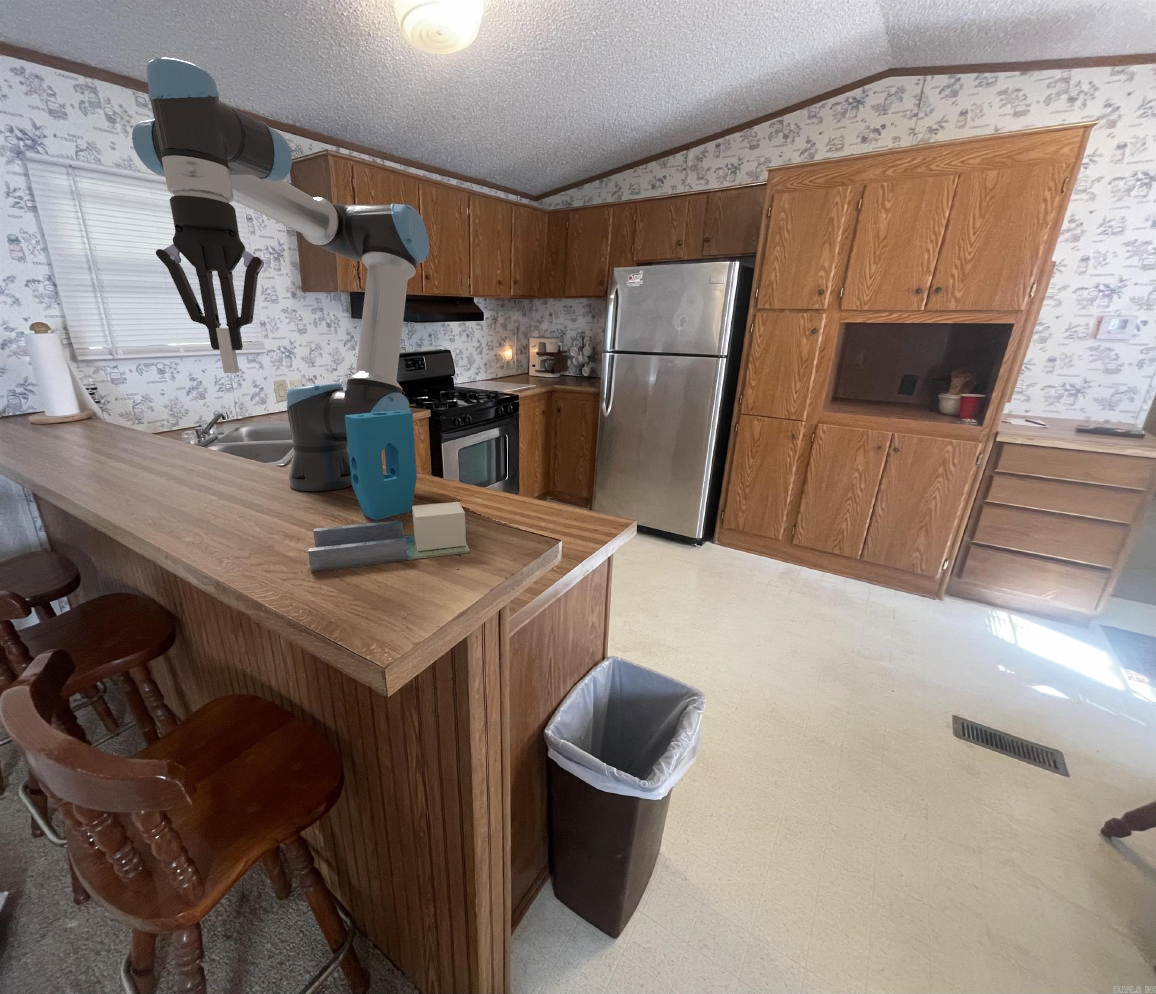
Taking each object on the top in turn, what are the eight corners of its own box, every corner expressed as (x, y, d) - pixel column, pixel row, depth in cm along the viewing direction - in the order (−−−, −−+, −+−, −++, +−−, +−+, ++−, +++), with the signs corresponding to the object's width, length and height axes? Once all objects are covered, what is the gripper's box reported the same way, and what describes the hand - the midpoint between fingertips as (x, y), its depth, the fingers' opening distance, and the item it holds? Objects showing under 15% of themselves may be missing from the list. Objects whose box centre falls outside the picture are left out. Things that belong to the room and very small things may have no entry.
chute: (316, 547, 86) (313, 528, 85) (460, 532, 94) (459, 514, 93) (311, 571, 77) (308, 551, 76) (469, 552, 86) (469, 533, 85)
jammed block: (414, 538, 89) (412, 505, 88) (460, 533, 92) (458, 501, 91) (417, 551, 84) (415, 517, 82) (466, 545, 87) (464, 512, 85)
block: (366, 522, 97) (356, 418, 91) (353, 516, 100) (342, 415, 94) (420, 508, 106) (414, 412, 100) (407, 503, 109) (400, 409, 103)
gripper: (133, 186, 65) (172, 374, 73) (251, 200, 70) (276, 374, 77) (154, 199, 72) (188, 370, 79) (260, 211, 77) (283, 371, 84)
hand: (231, 372), depth 78 cm, fingers closed
